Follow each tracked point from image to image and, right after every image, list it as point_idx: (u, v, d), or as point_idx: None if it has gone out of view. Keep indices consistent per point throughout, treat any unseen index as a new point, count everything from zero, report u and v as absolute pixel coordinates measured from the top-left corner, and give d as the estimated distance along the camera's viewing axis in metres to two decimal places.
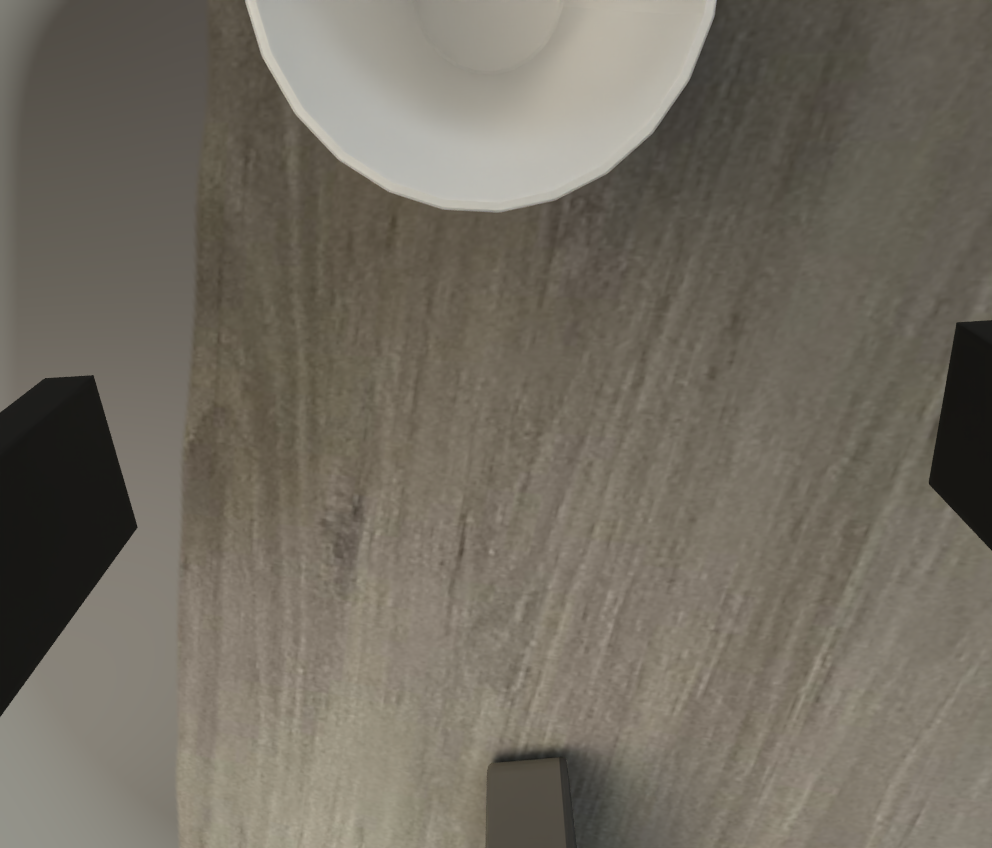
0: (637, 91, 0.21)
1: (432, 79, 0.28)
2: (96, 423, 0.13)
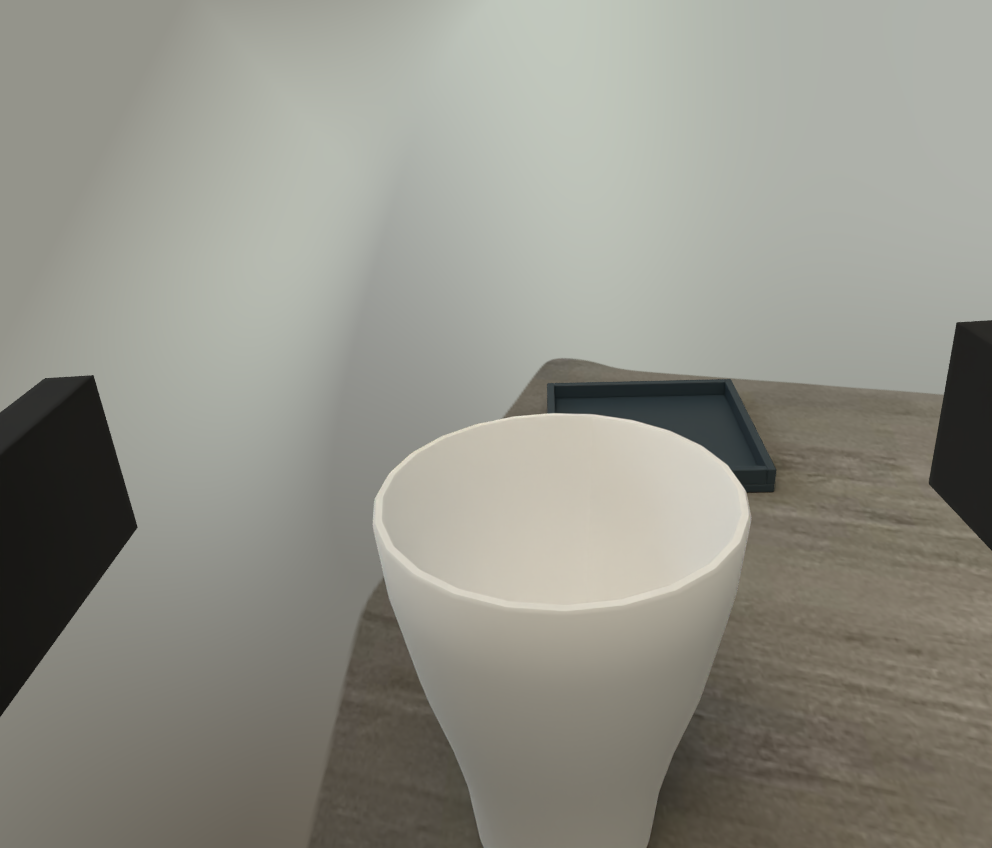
0: (644, 490, 0.28)
1: None
2: (96, 423, 0.13)
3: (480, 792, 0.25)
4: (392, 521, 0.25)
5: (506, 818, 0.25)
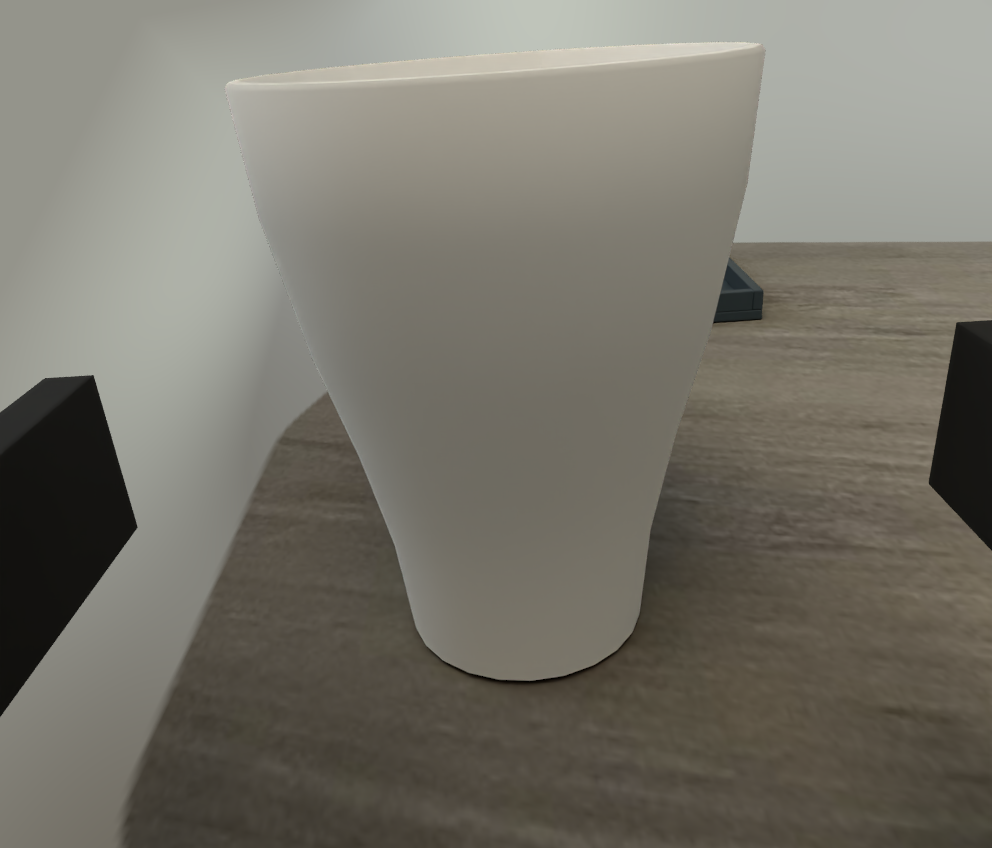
0: None
1: None
2: (96, 423, 0.13)
3: (405, 517, 0.18)
4: None
5: (442, 551, 0.18)
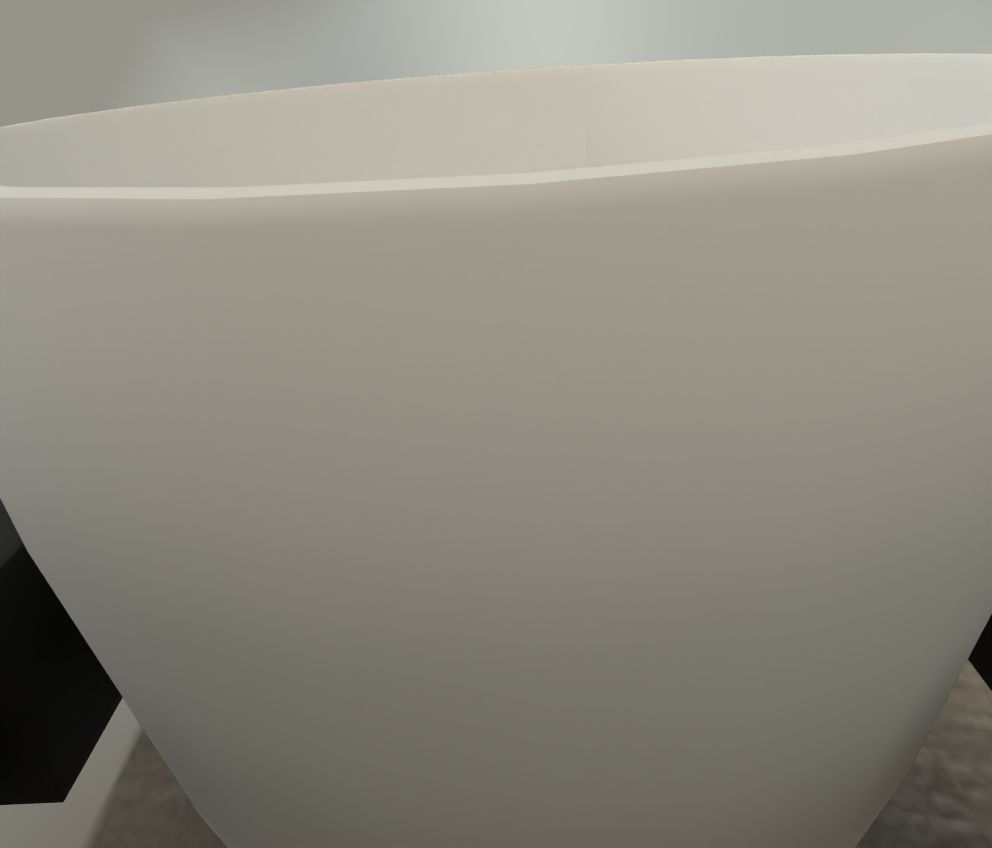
0: None
1: None
2: None
3: None
4: None
5: None
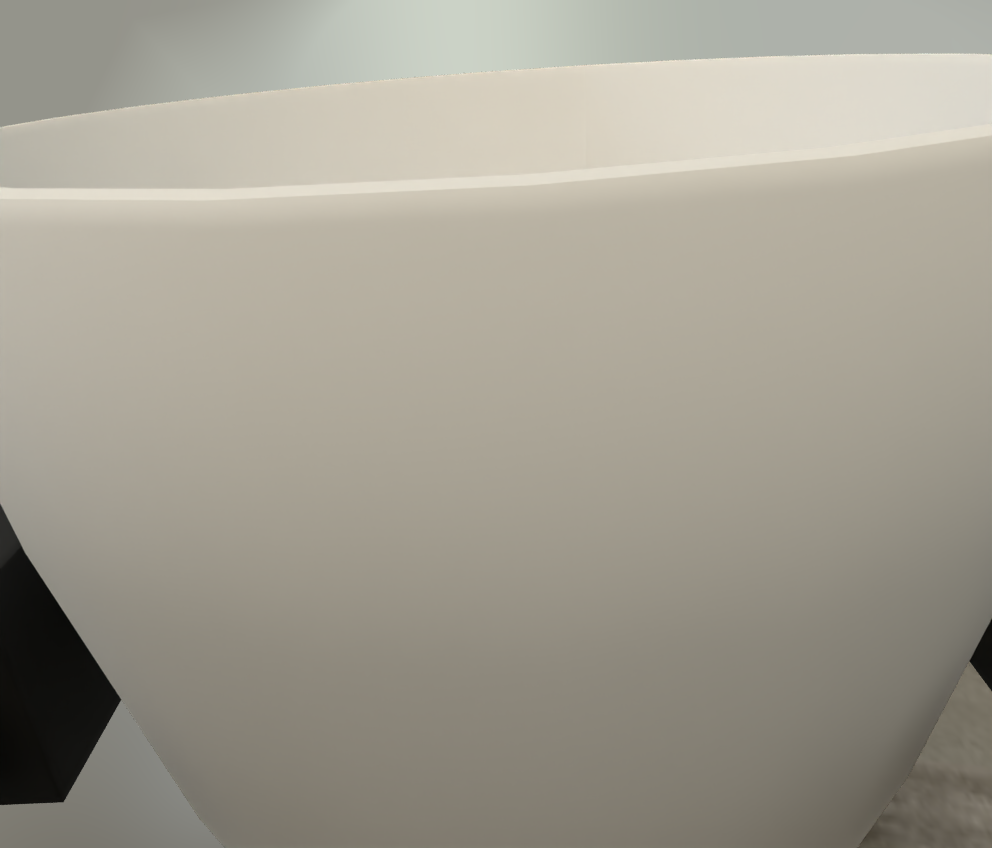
0: None
1: None
2: None
3: None
4: None
5: None
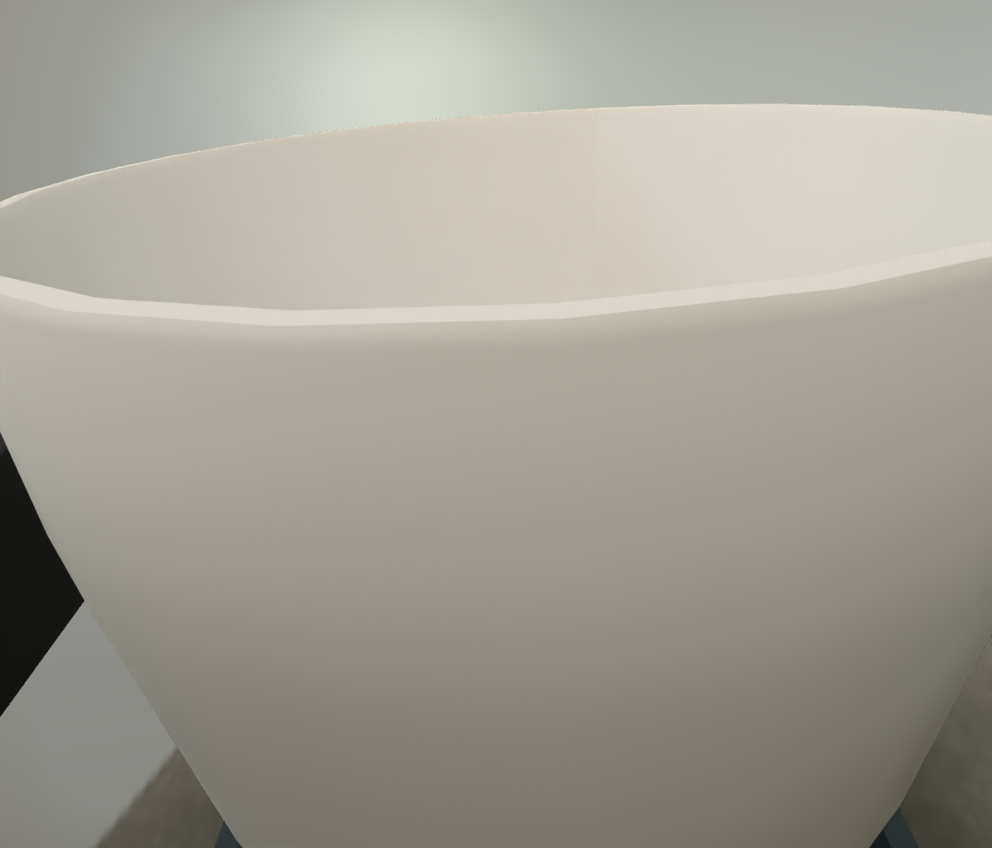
0: (714, 263, 0.13)
1: None
2: None
3: None
4: (79, 278, 0.09)
5: None
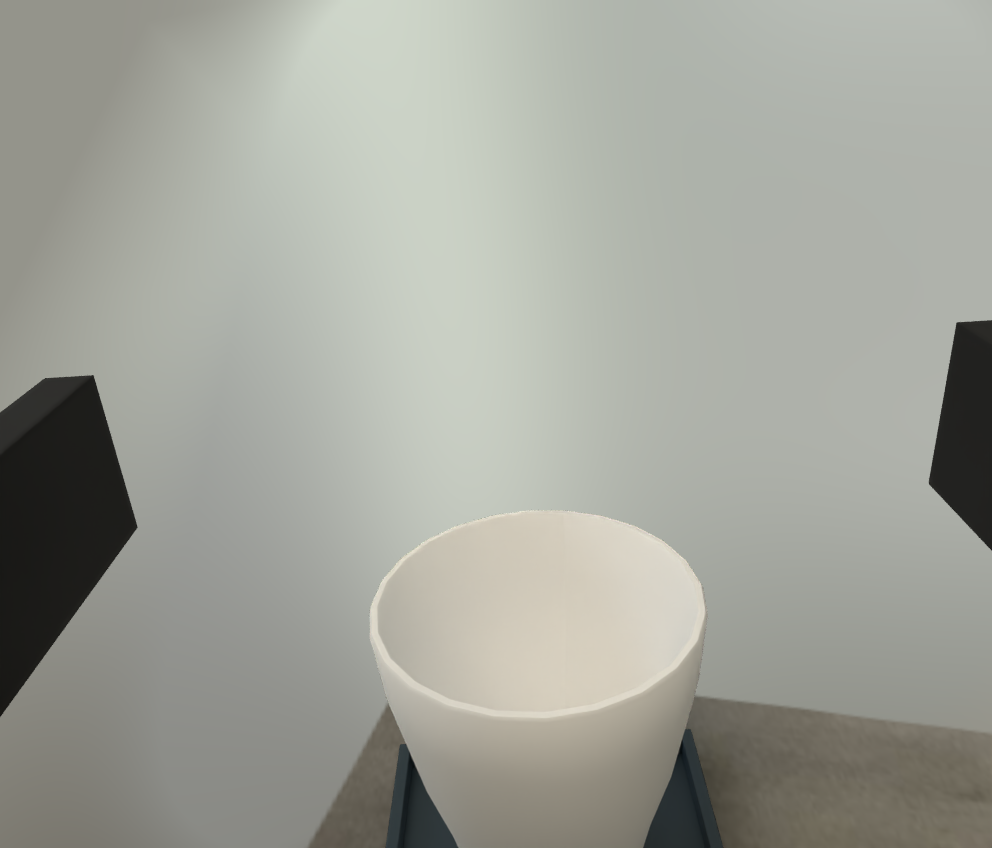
0: (613, 578, 0.31)
1: None
2: (96, 423, 0.13)
3: None
4: (386, 626, 0.27)
5: None
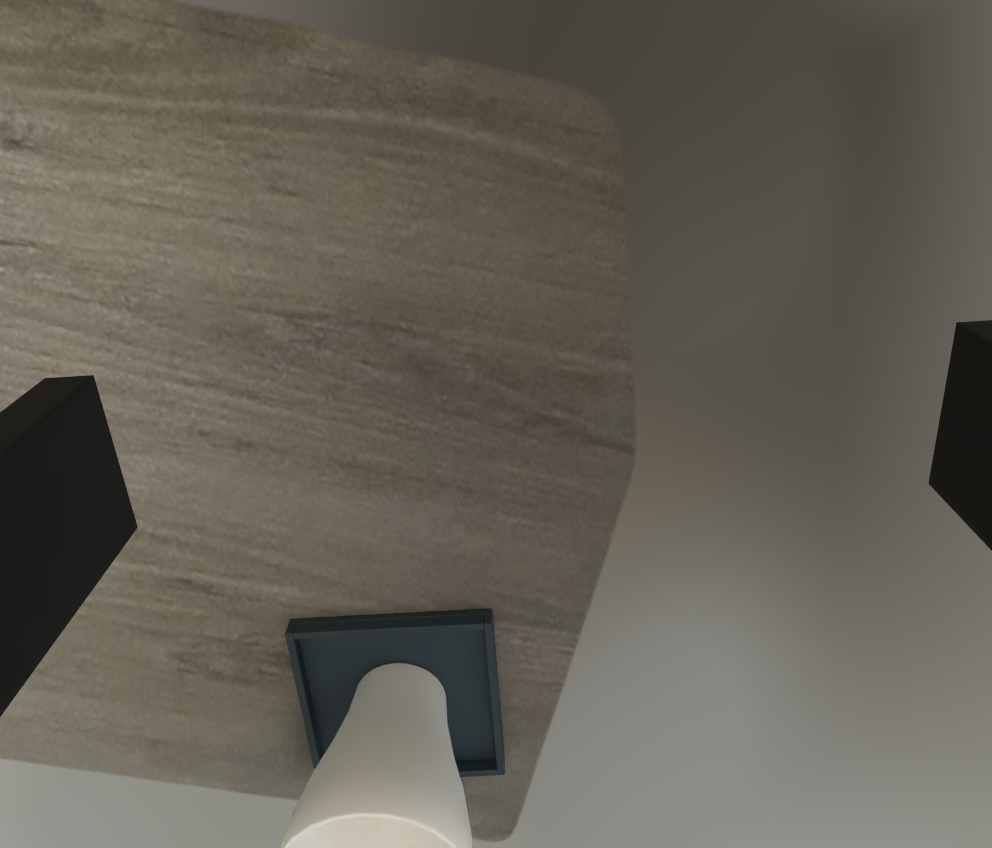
0: None
1: None
2: (96, 423, 0.13)
3: (429, 716, 0.51)
4: None
5: (417, 703, 0.51)
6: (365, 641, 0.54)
